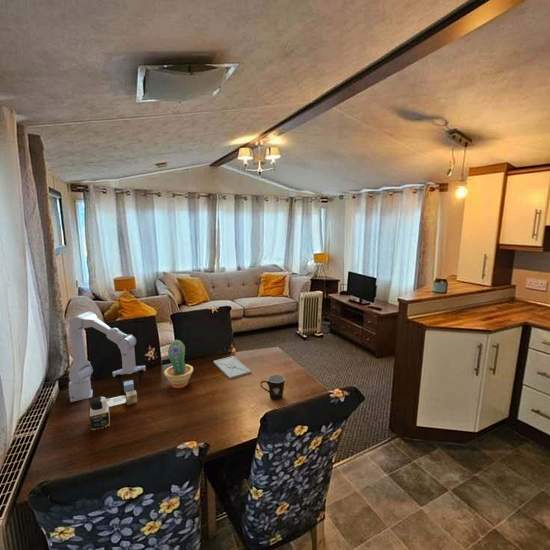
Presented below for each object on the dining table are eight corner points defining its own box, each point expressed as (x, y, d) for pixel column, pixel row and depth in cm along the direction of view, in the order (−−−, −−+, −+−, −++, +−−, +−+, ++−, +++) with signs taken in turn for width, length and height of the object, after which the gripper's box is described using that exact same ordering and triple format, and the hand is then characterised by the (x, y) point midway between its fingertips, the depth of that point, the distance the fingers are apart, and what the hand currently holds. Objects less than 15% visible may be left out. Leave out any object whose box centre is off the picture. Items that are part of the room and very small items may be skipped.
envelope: (229, 380, 181) (251, 374, 189) (229, 376, 181) (251, 370, 188) (213, 363, 201) (233, 358, 208) (213, 360, 201) (233, 355, 208)
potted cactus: (158, 387, 172) (155, 343, 168) (177, 375, 186) (175, 333, 182) (182, 393, 166) (179, 347, 162) (199, 380, 180) (197, 337, 176)
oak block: (127, 405, 156) (126, 396, 155) (126, 400, 160) (126, 392, 159) (137, 402, 158) (136, 394, 157) (136, 398, 162) (135, 390, 161)
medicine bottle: (91, 431, 137) (88, 405, 134) (91, 422, 143) (89, 397, 141) (109, 426, 140) (107, 401, 138) (109, 417, 146) (107, 393, 144)
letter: (103, 408, 153) (103, 408, 153) (103, 400, 160) (103, 399, 160) (127, 402, 158) (127, 402, 158) (126, 394, 165) (126, 394, 165)
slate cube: (124, 393, 166) (124, 385, 165) (124, 389, 170) (123, 381, 169) (134, 391, 168) (133, 383, 167) (133, 387, 172) (132, 380, 171)
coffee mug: (287, 394, 165) (287, 376, 164) (280, 403, 158) (280, 384, 156) (267, 389, 170) (267, 372, 169) (259, 397, 163) (259, 379, 161)
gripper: (112, 367, 148) (114, 394, 151) (145, 360, 155) (147, 386, 157) (111, 361, 154) (113, 387, 157) (144, 355, 161) (145, 380, 163)
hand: (130, 386), depth 157 cm, fingers open, 7 cm apart
